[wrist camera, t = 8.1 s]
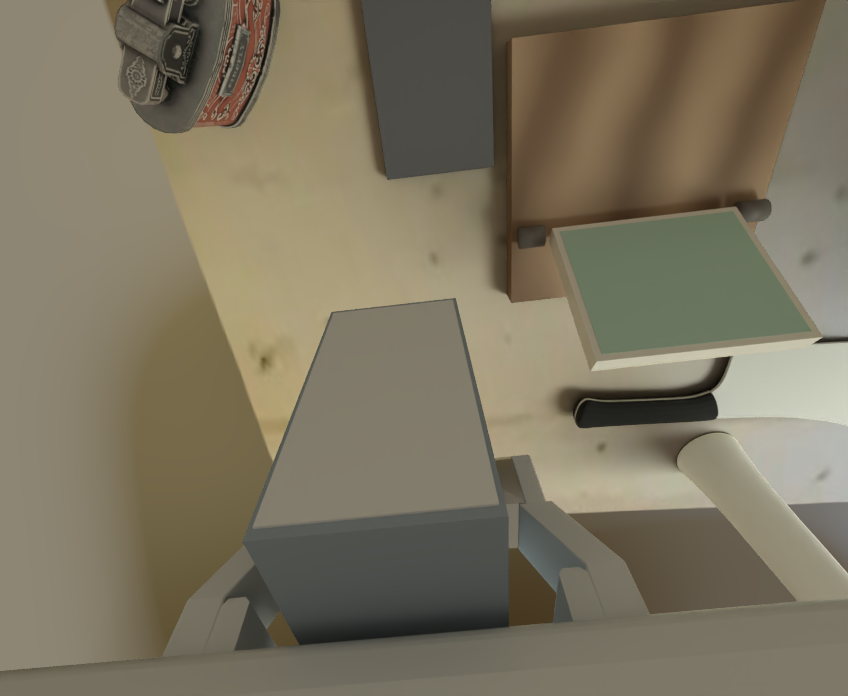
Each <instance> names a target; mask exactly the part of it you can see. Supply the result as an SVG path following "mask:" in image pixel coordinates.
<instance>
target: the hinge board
mask: <svg viewBox="0 0 848 696" xmlns="http://www.w3.org/2000/svg"><path fill="white" fill-rule="evenodd" d="M825 2H826V0H799V1H791V2H784V3H776V4H768V5H761V6H753V7H746V8H738V9H730V10H723V11H715V12H708V13H700V14H692V15H685V16H677V17H669V18H662V19H654V20H647V21H639V22H631V23H624V24H616V25H608V26H601V27H593V28H586V29H578V30H570V31H563V32H555V33H548V34H540V35H532V36H525V37H517V38H512V39H510V40H509V41H507V42H506V86H507V295H508V297H509V299H510V301H511V303H514V302H523V301H532V300H541V299H550V298H558V297H566V293H565V290H564V287H563V284H562V281H561V278H560V275H559V272H558V268H557V265H556V262H555V259H554V256H553V253H552V250H551V247H550V243H549V239H550V235H551V231H552V228H559V227H567V226H576V225H584V224H592V223H601V222H609V221H618V220H626V219H635V218H643V217H652V216H660V215H669V214H677V213H686V212H694V211H702V210H711V209H719V208H728V207H737V209H738V210H739V212H740V213H741V215H742V216H743V218H744V219H745V221H746V222H747V224H748V225H749V227H750V228H751V230H752V231H753V233H754V231H755V228H756V225H757V221H763V220H765V219H767V218H768V217H769V215H770V213H771V203H770V201H769V200H767V199H765V196H766V192H767V189H768V186H769V183H770V179H771V176H772V173H773V170H774V167H775V163H776V160H777V157H778V154H779V150H780V147H781V144H782V141H783V137H784V134H785V131H786V128H787V124H788V121H789V118H790V115H791V112H792V108H793V105H794V102H795V99H796V95H797V92H798V89H799V86H800V82H801V79H802V76H803V73H804V70H805V66H806V63H807V60H808V57H809V53H810V50H811V47H812V44H813V40H814V37H815V34H816V31H817V28H818V24H819V21H820V18H821V15H822V11H823V8H824V5H825Z"/></svg>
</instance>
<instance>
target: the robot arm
mask: <svg viewBox="0 0 848 696" xmlns="http://www.w3.org/2000/svg"><path fill="white" fill-rule="evenodd" d="M495 463H496V467H497V471H498V475H499V479H500V483H501V487H502V491H503V495H504V499H505V504H506V508H507V512H508V516H509V548H519V550H520V551H521V552H522V553H523V555H524V556H525V557H526V558H527V559H528V560H529V561H530V563H531V564H532V565H533V566H534V567H535V569H536V570H537V571H538V572H539V573H540V574H541V576H542V577H543V578H544V579H545V580H546V581H547V583H548V584H549V585H550V586H551V587H552V588H553V589H554V591H555V592H556V593H557V595H556V604H555V612H554V621H553V623H548V624H536V625H525V626H513V627H502V628H490V629H479V630H467V631H456V632H444V633H432V634H421V635H410V636H398V637H387V638H375V639H364V640H353V641H341V642H330V643H319V644H307V645H297V646H284V647H277V646H276V644H275V643H274V641H273V639H272V638H271V636H270V635H269V633H268V631H267V628H268V627H269V625H270V624H271V622H272V621H273V620H274V618H275V617H276V615H277V614H278V612H279V611H280V609H279V607H278V605H277V603H276V601H275V600H274V598H273V596H272V594H271V592H270V591H269V589H268V587H267V585H266V583H265V582H264V580H263V578H262V576H261V574H260V573H259V571H258V569H257V567H256V565H255V564H254V562H253V560H252V558H251V556H250V555H249V553H248V551H247V549H246V547H245V546H243V547H242V548H241V549H240V550H239V551H238V552H237V553H236V554H235V555H234V556H233V557H232V558H231V559H230V560H229V561H228V562H226V563H225V564H224V565H223V566H222V567H221V568H220V569H219V570H218V571H217V572H216V573H215V574H214V575H213V576H212V577H211V578H210V579H209V580H208V581H207V582H206V583H205V584H204V585H203V586H202V587H201V588H200V589H199V590H198V591H197V592H196V593H195V594H194V595H193V596H192V597H191V598H190V599H189V600H188V601H187V603H186V605H185V608H184V610H183V612H182V614H181V616H180V618H179V621H178V623H177V625H176V627H175V629H174V631H173V634H172V636H171V638H170V640H169V642H168V644H167V647H166V649H165V651H164V653H163V655H162V657H159V658H146V659H135V660H124V661H112V662H101V663H88V664H77V665H65V666H53V667H42V668H30V669H18V670H7V671H0V696H848V597H846V598H834V599H823V600H812V601H800V602H789V603H777V604H766V605H755V606H744V607H731V608H720V609H708V610H697V611H685V612H674V613H663V614H651V615H650V613H649V611H648V609H647V607H646V605H645V603H644V601H643V599H642V597H641V595H640V592H639V590H638V588H637V586H636V584H635V582H634V580H633V578H632V576H631V574H630V572H629V569H628V567H627V565H626V563H625V561H624V560H622V559H621V558H620V557H619V556H618V555H616V554H615V553H614V552H613V551H611V550H610V549H609V548H608V547H607V546H605V545H604V544H603V543H602V542H600V541H599V540H598V539H597V538H596V537H594V536H593V535H592V534H591V533H589V532H588V531H587V530H586V529H584V528H583V527H582V526H581V525H580V524H579V523H577V522H576V521H575V520H573V519H572V518H571V517H570V516H569V515H568V514H566V513H565V512H564V511H563V510H561V509H560V508H559V507H558V506H557V505H555V504H554V503H553V502H552V501H546V500H545V497H544V494H543V492H542V489H541V486H540V483H539V480H538V477H537V475H536V472H535V469H534V466H533V463H532V460H531V458H530V456H529V455H521V456H511V457H501V458H495Z"/></svg>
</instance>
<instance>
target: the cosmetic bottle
mask: <svg viewBox="0 0 848 696" xmlns="http://www.w3.org/2000/svg"><path fill="white" fill-rule="evenodd" d="M677 466H678V468H679V470H680V471H681V472H682V473H683V474H684V475H686V476H687V477H688V478H689V479H690V480H691V481H692V482H693V483H694V484H695V485H696V486H697V487H698V488H699V489H700V490H701V491H702V492H703V493H704V494H705V495H706V496H707V497H708V498H709V499H710V500H711V501H712V502H713V503H714V504H715V506H716V507H717V508H718V509H719V510H720V511H721V512H722V513H723V514H724V515H725V517H726V518H727V519H728V520H729V521H730V522H731V523H732V524H733V526H734V527H735V528H736V529H737V530H738V532H739V533H740V534H741V535H742V536H743V537H744V538H745V540H746V541H747V542H748V543H749V544H750V545H751V547H752V548H753V549H754V550H755V551H756V553H757V554H758V555H759V556H760V557H761V558H762V559H763V561H764V562H765V563H766V564H767V565H768V567H769V568H770V569H771V570H772V571H773V573H774V574H775V575H776V576H777V577H778V578H779V580H780V581H781V582H782V583H783V584H784V585H785V587H786V588H787V589H788V590H789V591H790V592H791V594H792V595H793V596H794V597H795V598H796V599H797V601H798V602H800V601H812V600H823V599H834V598H846V597H848V573H847V572H846V571H845V570H844V569H843V568H842V566H841V565H840V564H839V563H838V562H837V561H836V560H835V558H834V557H833V556H832V555H831V554H830V553H829V552H828V551H827V549H826V548H825V547H824V546H823V545H822V544H821V543H820V542H819V540H818V539H817V538H816V537H815V536H814V535H813V534H812V533H811V531H810V530H809V529H808V528H807V527H806V526H805V525H804V524H803V522H802V521H801V520H800V519H799V518H798V517H797V516H796V514H795V513H794V512H793V511H792V510H791V509H790V508H789V506H788V505H787V504H786V503H785V502H784V501H783V500H782V498H781V497H780V496H779V495H778V494H777V493H776V491H775V490H774V489H773V488H772V487H771V485H770V484H769V483H768V482H767V481H766V479H765V478H764V477H763V476H762V474H761V473H760V472H759V471H758V469H757V468H756V467H755V465H754V464H753V463H752V461H751V460H750V459H749V457H748V456H747V454H746V453H745V452H744V450H743V449H742V447H741V446H740V444H739V443H738V441H737V440H736V439H735V438H734V437H733V436H731V435H729V434H726V433H710V434H706V435H703V436H700V437H698V438H696V439H694V440H692V441H691V442H689V443H688V444H687V445H686V446H685V447H684V448H683V449H682V450H681V451H680V453H679V455H678V458H677Z"/></svg>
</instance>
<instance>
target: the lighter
mask: <svg viewBox="0 0 848 696" xmlns="http://www.w3.org/2000/svg"><path fill="white" fill-rule="evenodd" d="M279 17H280V1H279V0H127V2H126V3H125V4H123V5H122V6H121V7H120V8H119V10H118V12H117V15H116V21H115V35H116V37H117V39H118V40H119V43H120V47H121V48H122V50H123V54H122V60H121V66H120V71H119V76H118V87H119V90H120V92H121V93H122V94H123V95H124V96H125V97H126V98H128V99H129V100H130V101H131V103H132V105H133V107H134V109H135V111H136V113H137V114H138V115H139V116H140V117H141V118H142V119H143V120H144V121H145V122H146V123H147V124H149V125H150V126H151V127H153V128H154V129H157V130H159V131H162V132H164V133H183V132H186V131H189V130H191V129H192V128H193V127H206V126H219V127H221V128H235V127H238V126H241V125H242V124H243V123H244V122H245V120H246V118H247V117H248V115H249V113H250V112H251V110H252V108H253V106H254V105H255V103H256V101H257V99H258V97H259V94H260V92H261V90H262V87H263V85H264V82H265V80H266V78H267V75H268V72H269V68H270V64H271V60H272V56H273V53H274V49H275V45H276V38H277V31H278V24H279Z"/></svg>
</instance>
